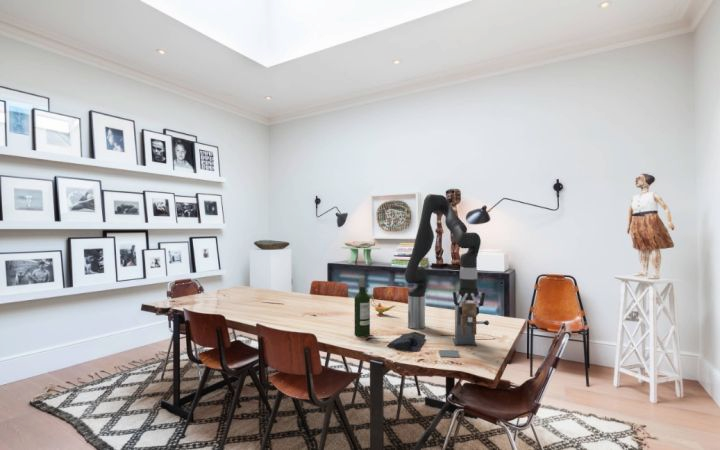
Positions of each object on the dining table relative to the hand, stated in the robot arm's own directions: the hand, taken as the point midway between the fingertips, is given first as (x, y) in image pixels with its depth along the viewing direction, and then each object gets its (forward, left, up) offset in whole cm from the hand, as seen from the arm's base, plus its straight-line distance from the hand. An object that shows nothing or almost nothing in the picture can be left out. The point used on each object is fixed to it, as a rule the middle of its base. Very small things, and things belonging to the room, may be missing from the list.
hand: (468, 314), depth 164 cm
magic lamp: (-42, +61, -16) cm, 76 cm away
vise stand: (+3, +6, -16) cm, 17 cm away
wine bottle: (-50, +19, -16) cm, 56 cm away
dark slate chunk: (-27, +8, -17) cm, 32 cm away
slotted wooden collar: (0, 0, -8) cm, 8 cm away
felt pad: (-9, -5, -16) cm, 19 cm away
